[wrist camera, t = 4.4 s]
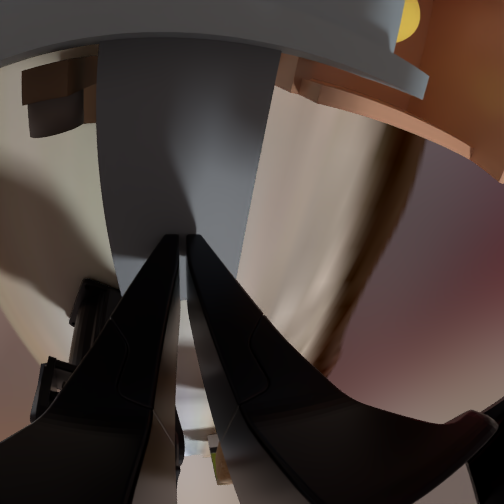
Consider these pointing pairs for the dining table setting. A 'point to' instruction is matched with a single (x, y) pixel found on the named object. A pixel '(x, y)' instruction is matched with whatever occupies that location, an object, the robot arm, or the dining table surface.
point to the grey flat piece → (196, 100)
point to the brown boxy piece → (429, 82)
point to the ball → (409, 19)
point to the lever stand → (60, 95)
